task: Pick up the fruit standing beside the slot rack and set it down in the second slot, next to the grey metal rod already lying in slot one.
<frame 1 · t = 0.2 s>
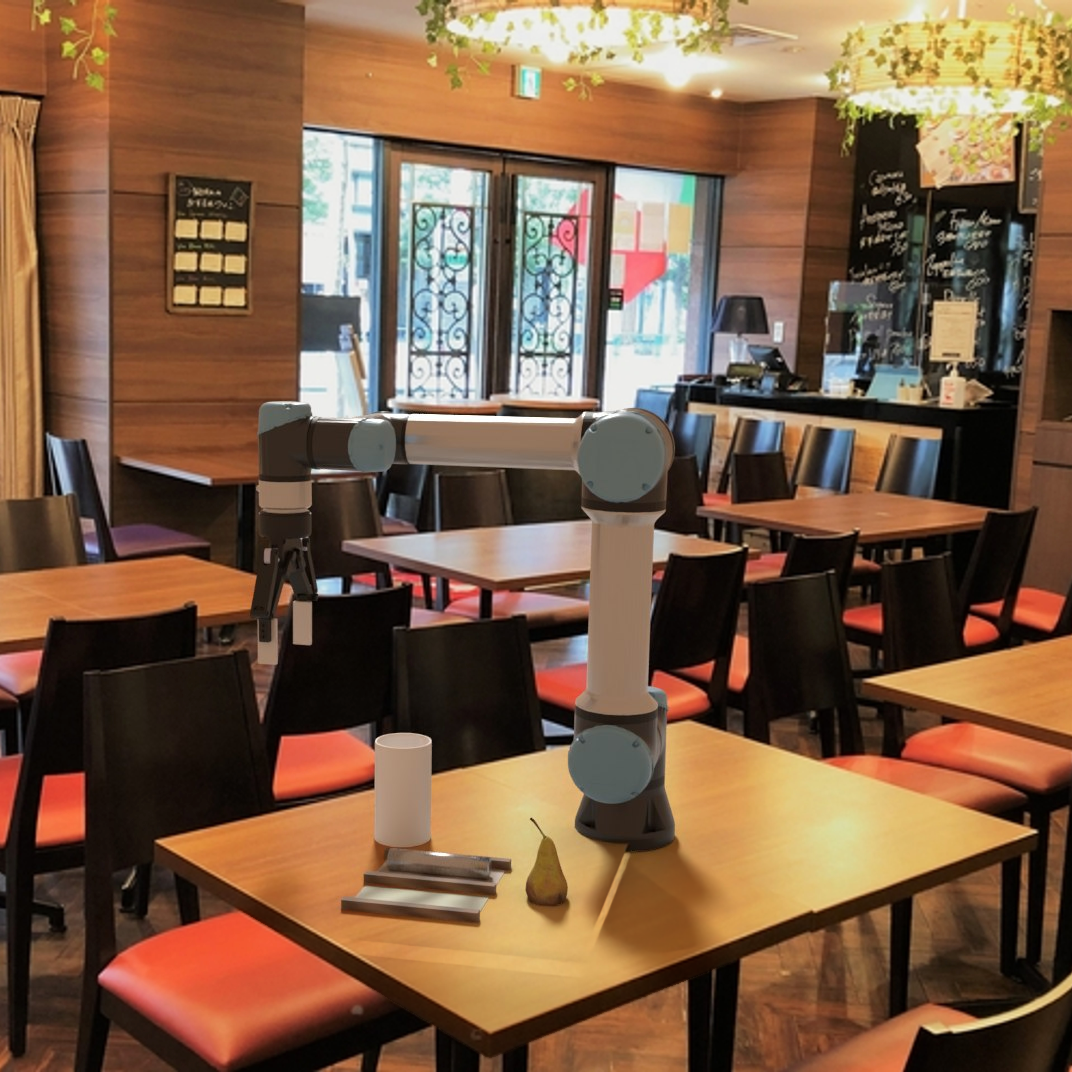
hand: (285, 653, 219), 28 cm above the table, fingers open, 13 cm apart
rack: (429, 897, 201), on the table
fruit: (546, 910, 198), on the table
rod: (439, 874, 205), point 1 cm above the table, touching rack
cup: (402, 847, 220), on the table
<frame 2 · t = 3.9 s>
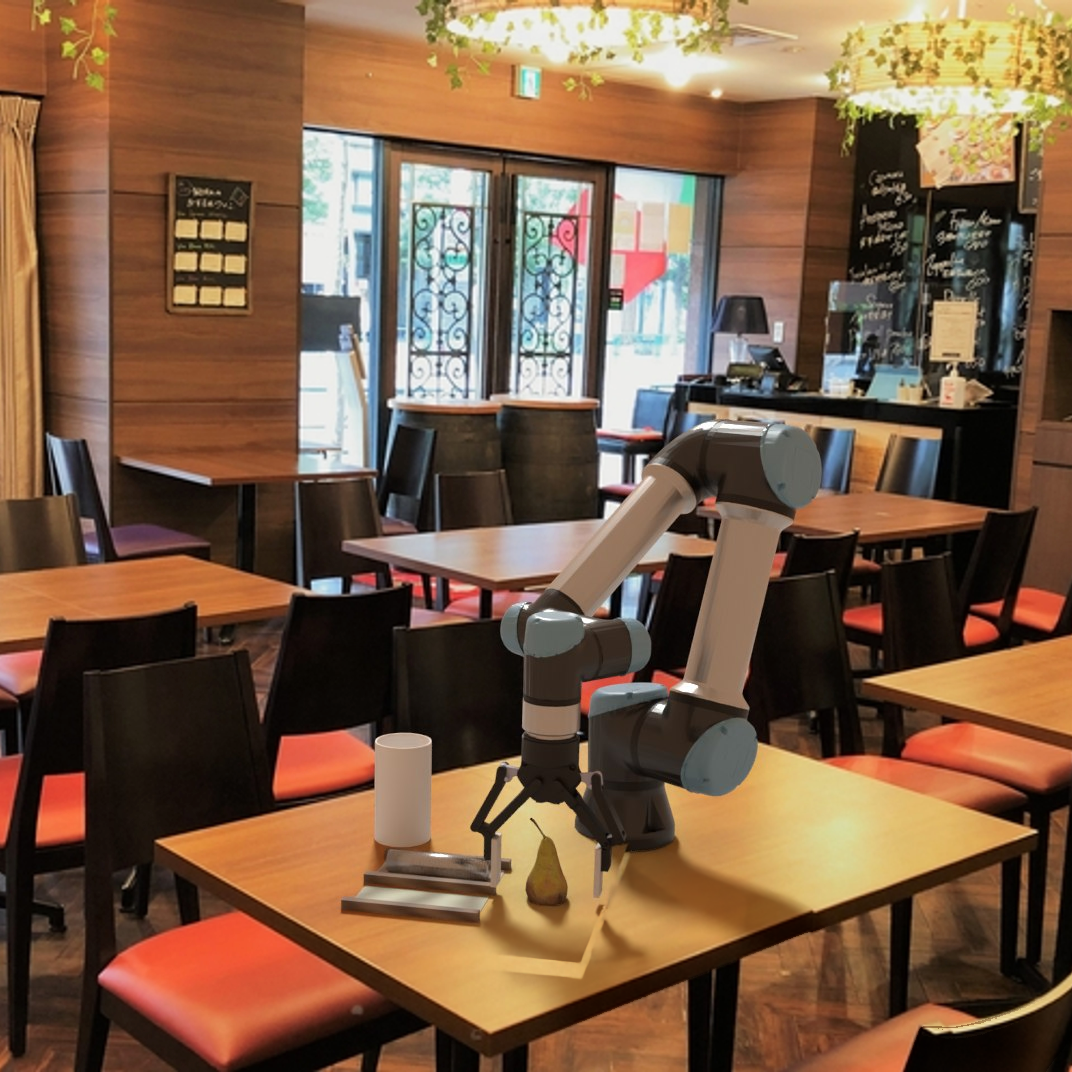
hand: (546, 889, 197), 3 cm above the table, fingers open, 13 cm apart
rod: (439, 873, 205), point 1 cm above the table, tilted 18°, touching rack
everything else where it was.
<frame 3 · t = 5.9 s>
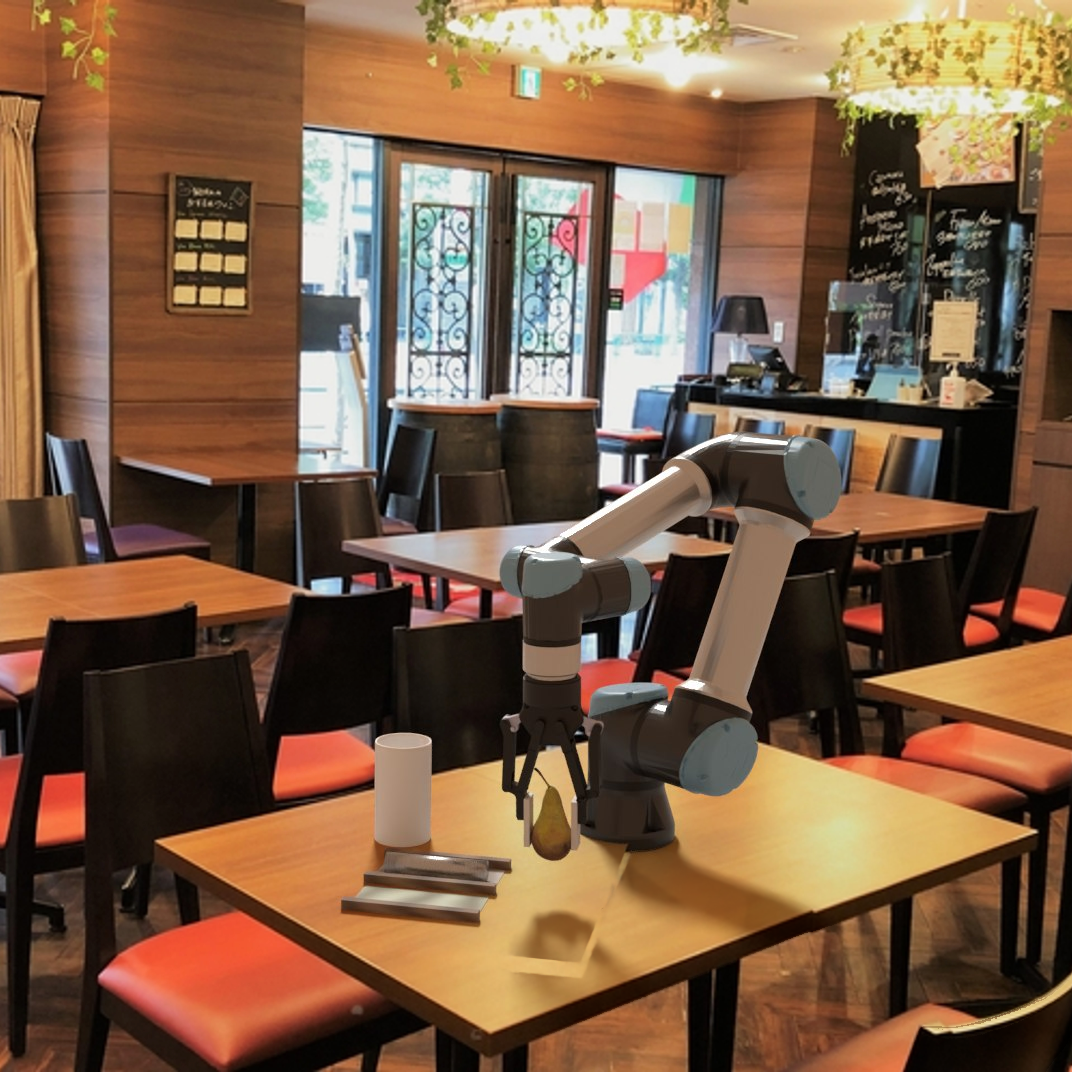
hand: (552, 844, 197), 9 cm above the table, fingers closed on fruit, 6 cm apart
fruit: (552, 860, 197), point 7 cm above the table, touching gripper
rod: (438, 869, 205), point 2 cm above the table, tilted 59°, touching rack
everything else where it was.
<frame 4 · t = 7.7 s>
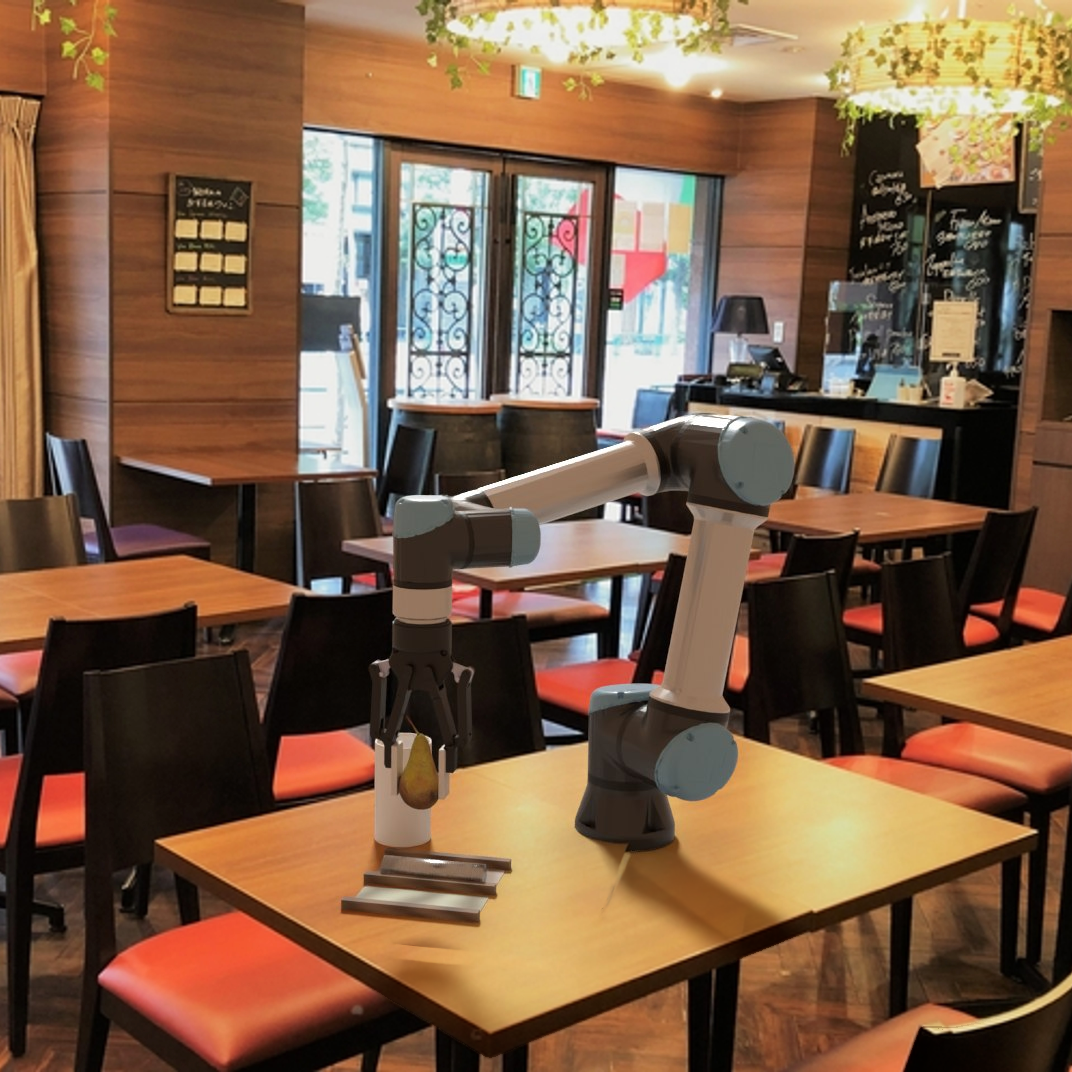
hand: (420, 793, 194), 16 cm above the table, fingers closed on fruit, 6 cm apart
fruit: (420, 809, 194), point 14 cm above the table, touching gripper
rod: (436, 863, 204), point 3 cm above the table, tilted 110°, touching rack
everything else where it was.
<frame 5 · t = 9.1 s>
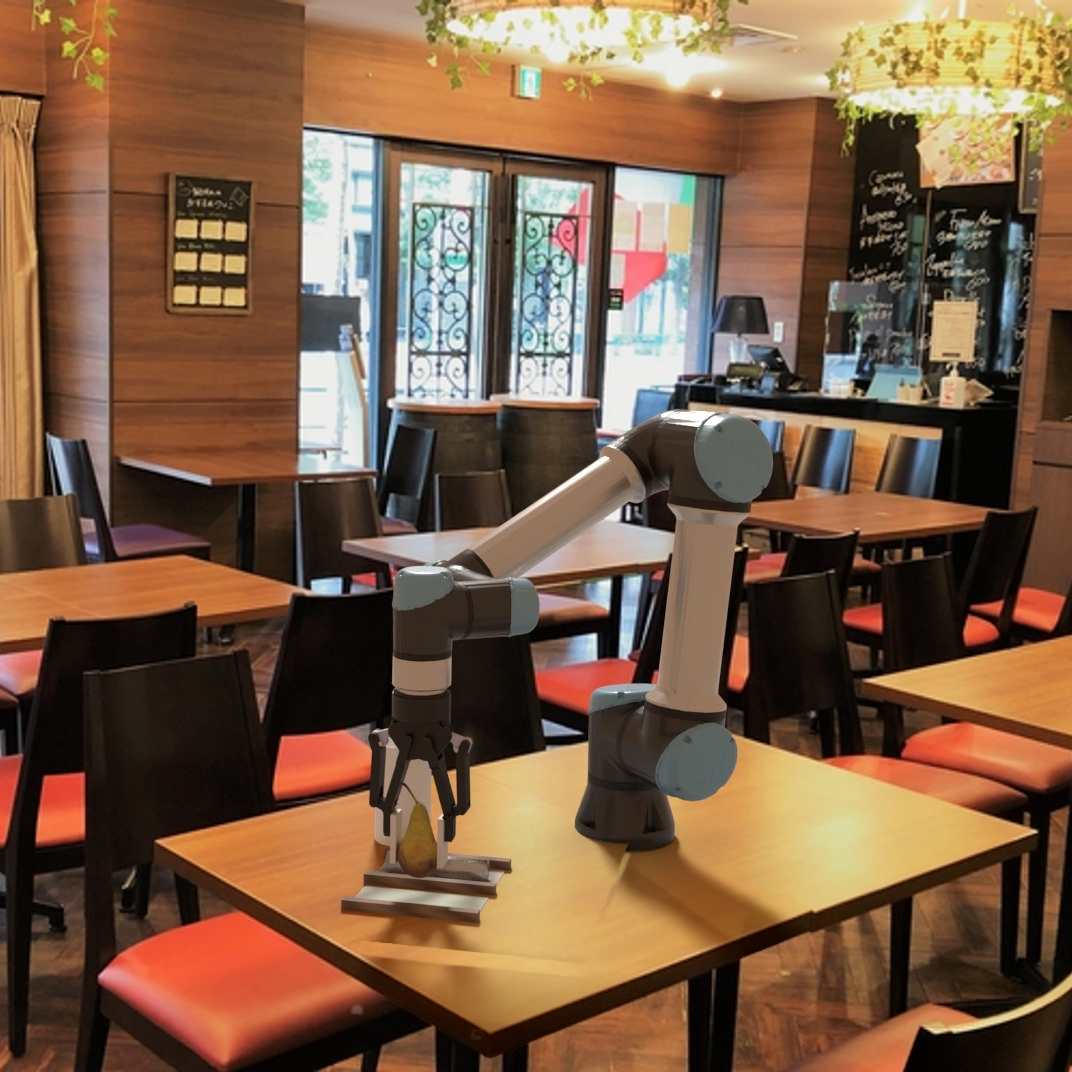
hand: (418, 861, 195), 7 cm above the table, fingers closed on fruit, 6 cm apart
fruit: (418, 877, 195), point 5 cm above the table, touching gripper
rod: (439, 871, 205), point 2 cm above the table, tilted 42°, touching rack
everything else where it was.
when the fingers open (3 cm above the table, at t = 10.5 s): fruit stays where it is, resting on rack.
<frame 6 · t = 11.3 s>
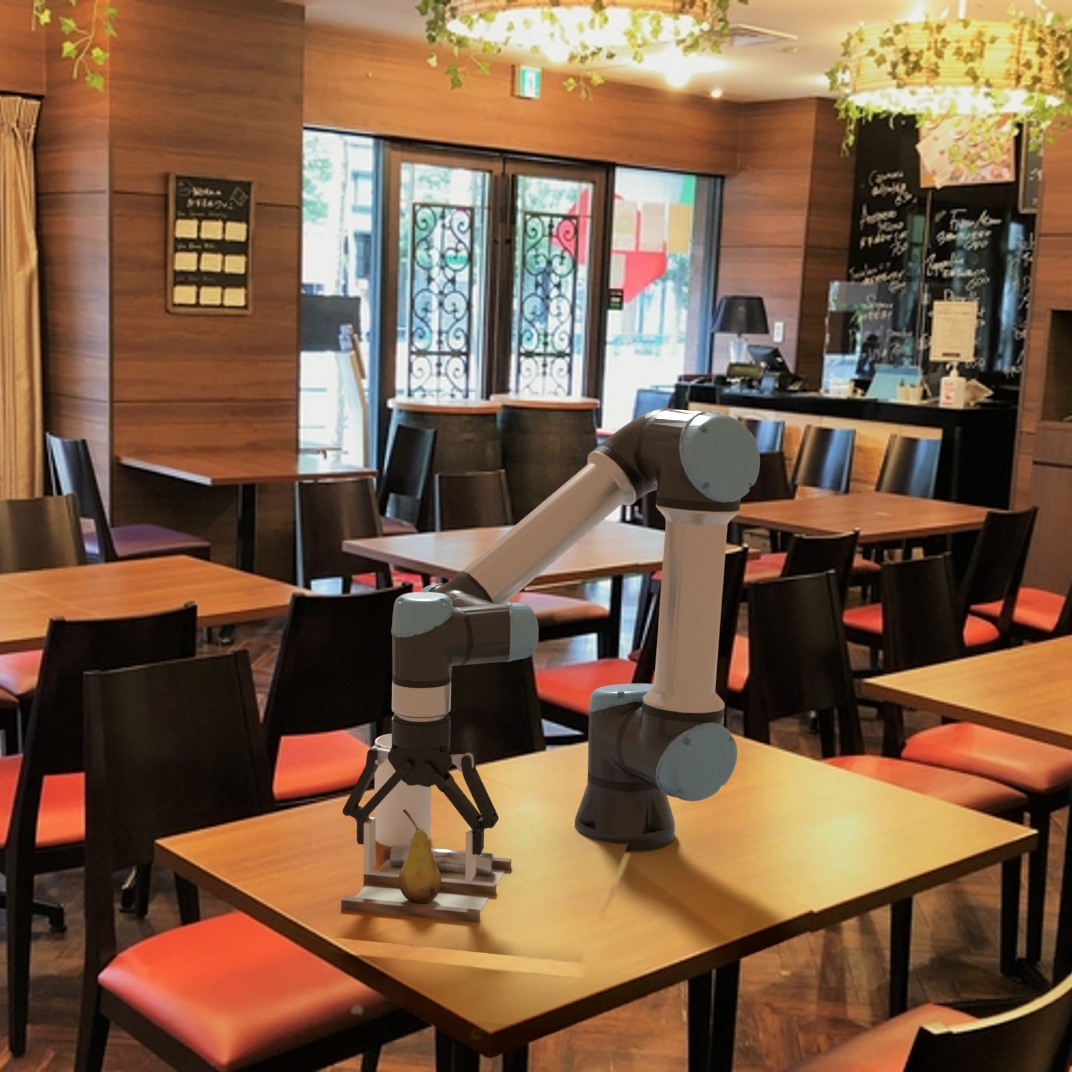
hand: (419, 873, 195), 5 cm above the table, fingers open, 13 cm apart
fruit: (420, 903, 195), point 1 cm above the table, touching rack
rod: (439, 868, 205), point 2 cm above the table, tilted 55°, touching rack
everything else where it was.
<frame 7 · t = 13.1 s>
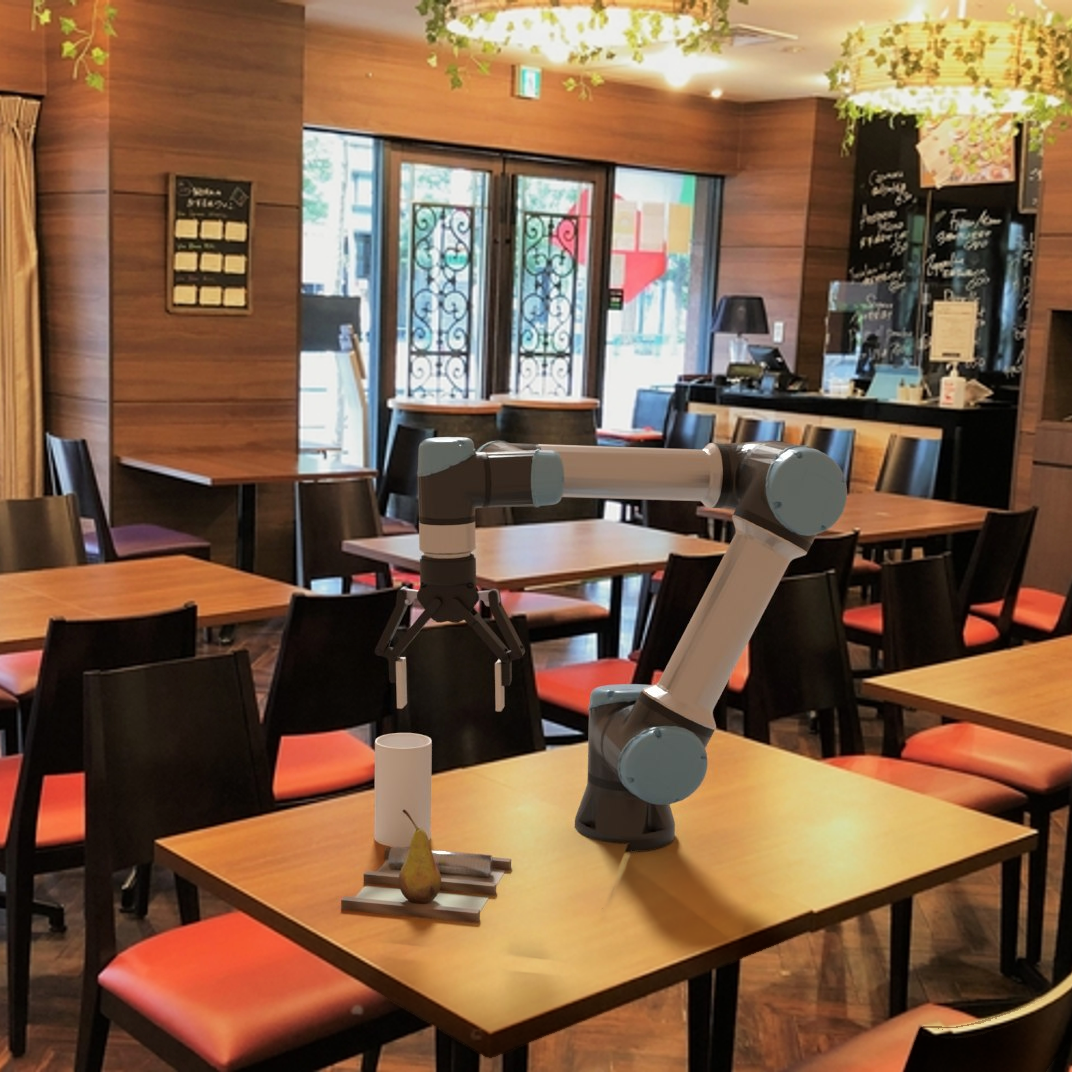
hand: (450, 707, 204), 24 cm above the table, fingers open, 13 cm apart
rod: (439, 872, 205), point 2 cm above the table, tilted 27°, touching rack
everything else where it was.
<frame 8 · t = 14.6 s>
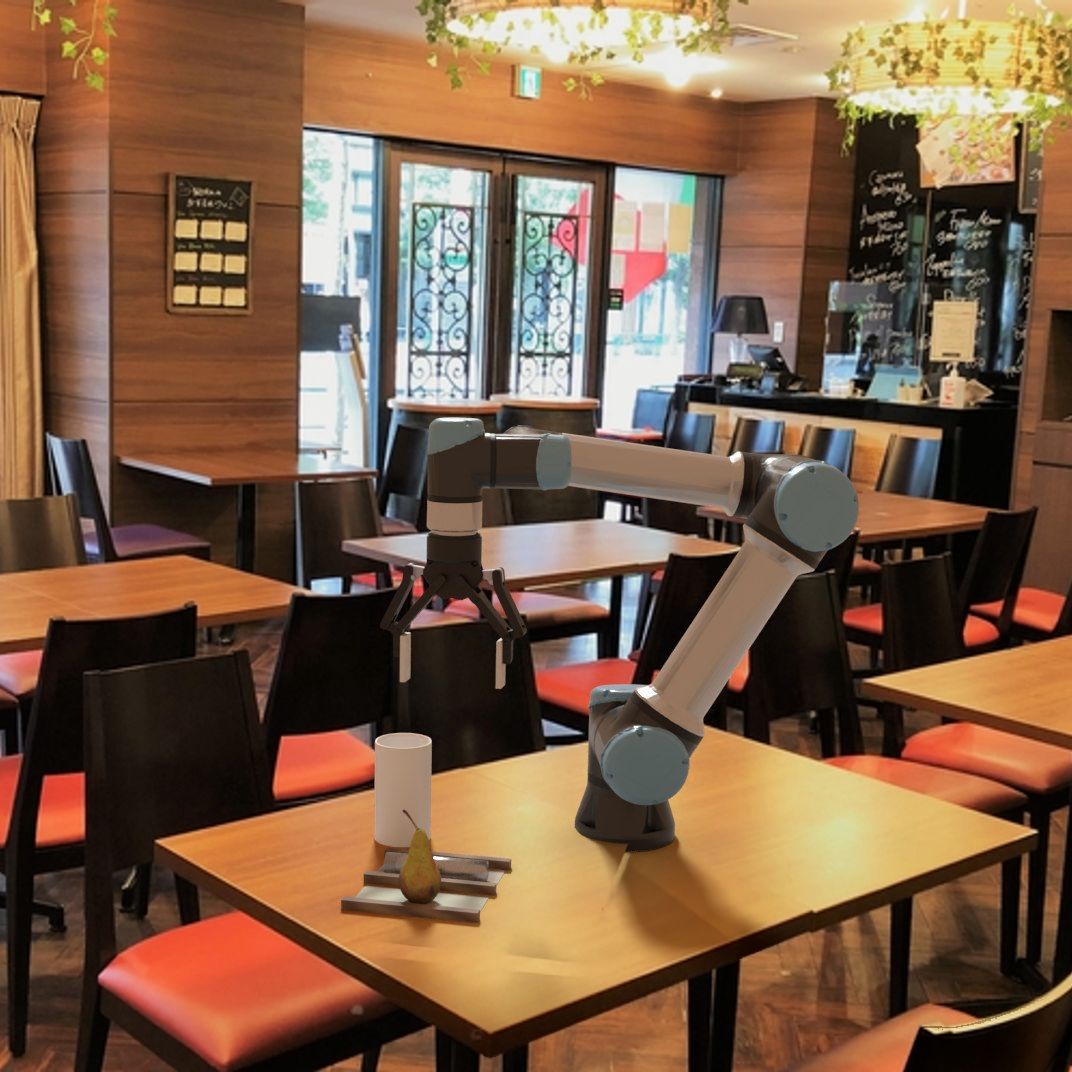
hand: (452, 683, 208), 27 cm above the table, fingers open, 13 cm apart
rod: (438, 869, 205), point 2 cm above the table, tilted 60°, touching rack
everything else where it was.
at the end: fruit inside the target area on the rack (0.3 cm from its centre), point 1.2 cm above the rack's base; fruit tilted 0°; rod moved 1.0 cm from its start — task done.
